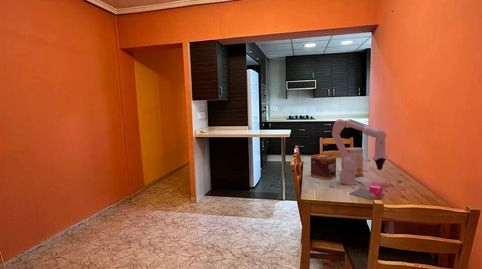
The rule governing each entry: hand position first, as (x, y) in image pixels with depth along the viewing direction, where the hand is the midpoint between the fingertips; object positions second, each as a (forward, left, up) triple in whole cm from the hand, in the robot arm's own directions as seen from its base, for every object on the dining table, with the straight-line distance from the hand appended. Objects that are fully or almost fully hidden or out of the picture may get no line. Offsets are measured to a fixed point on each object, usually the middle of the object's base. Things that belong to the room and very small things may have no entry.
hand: (379, 169), depth 164 cm
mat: (+3, -22, -10) cm, 25 cm away
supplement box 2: (+5, -15, -7) cm, 17 cm away
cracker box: (-24, +9, -11) cm, 28 cm away
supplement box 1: (-37, -8, -11) cm, 39 cm away
